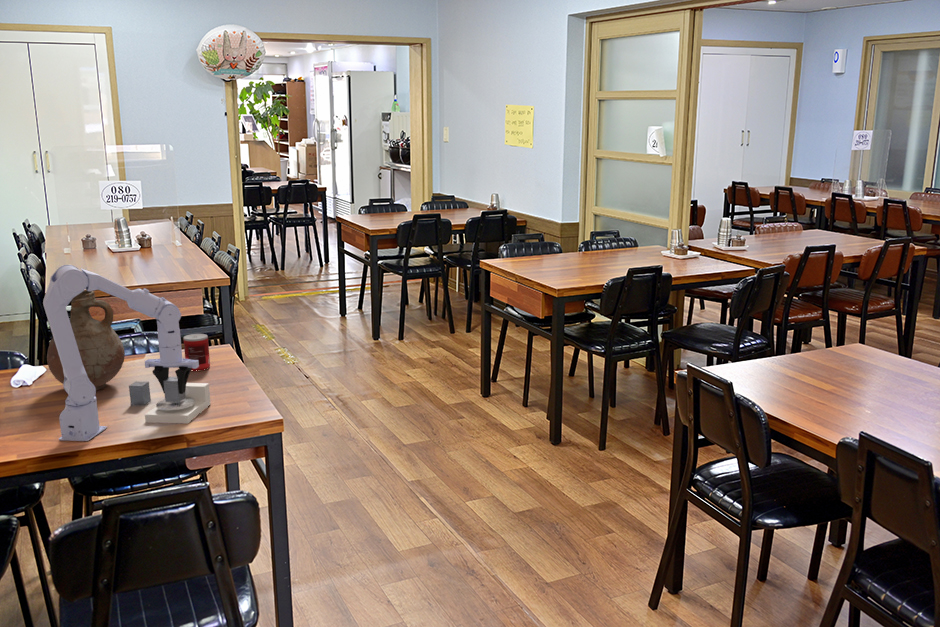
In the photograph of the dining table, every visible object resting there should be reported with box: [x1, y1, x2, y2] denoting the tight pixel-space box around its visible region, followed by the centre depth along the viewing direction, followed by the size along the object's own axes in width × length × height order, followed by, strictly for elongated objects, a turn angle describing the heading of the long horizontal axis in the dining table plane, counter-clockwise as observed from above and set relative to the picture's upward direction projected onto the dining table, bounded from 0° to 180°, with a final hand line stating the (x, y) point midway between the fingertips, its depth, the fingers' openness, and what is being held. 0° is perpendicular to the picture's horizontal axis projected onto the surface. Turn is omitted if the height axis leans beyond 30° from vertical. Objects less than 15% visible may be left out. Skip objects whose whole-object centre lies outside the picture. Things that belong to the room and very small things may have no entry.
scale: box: [144, 382, 211, 424], centre depth 221 cm, size 15×12×6 cm
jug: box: [46, 289, 126, 391], centre depth 242 cm, size 22×22×30 cm
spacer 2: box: [163, 376, 186, 402], centre depth 219 cm, size 4×4×6 cm
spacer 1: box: [128, 380, 152, 407], centre depth 230 cm, size 4×4×6 cm
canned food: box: [182, 333, 211, 372], centre depth 263 cm, size 8×8×11 cm
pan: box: [155, 397, 195, 411], centre depth 220 cm, size 10×10×1 cm
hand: (174, 392), depth 219 cm, fingers closed on spacer 2, 4 cm apart
